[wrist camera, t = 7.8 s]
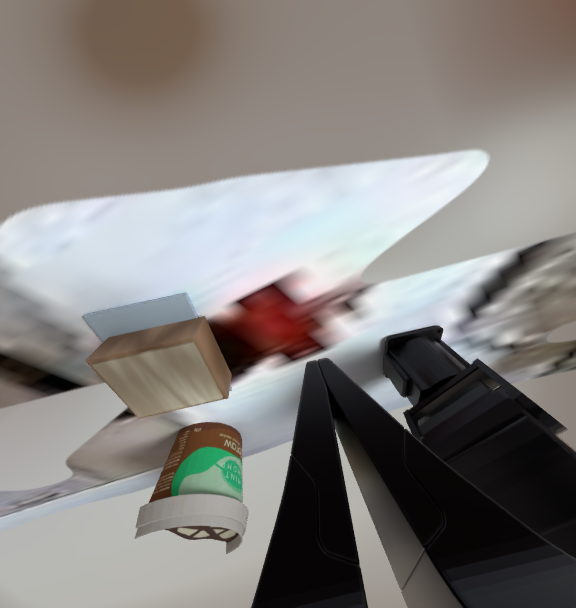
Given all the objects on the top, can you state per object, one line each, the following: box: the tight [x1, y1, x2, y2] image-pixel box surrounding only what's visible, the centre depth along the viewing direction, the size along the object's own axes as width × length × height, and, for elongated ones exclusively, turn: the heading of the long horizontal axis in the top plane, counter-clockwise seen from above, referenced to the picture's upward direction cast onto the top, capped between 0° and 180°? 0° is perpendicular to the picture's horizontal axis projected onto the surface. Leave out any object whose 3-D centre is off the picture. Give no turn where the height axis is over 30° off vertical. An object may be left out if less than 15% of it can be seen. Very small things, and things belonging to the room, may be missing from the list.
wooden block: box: [86, 316, 231, 418], centre depth 20 cm, size 3×8×9 cm
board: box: [82, 293, 232, 391], centre depth 22 cm, size 9×13×1 cm
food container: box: [135, 422, 248, 554], centre depth 25 cm, size 12×6×10 cm, turn 37°
